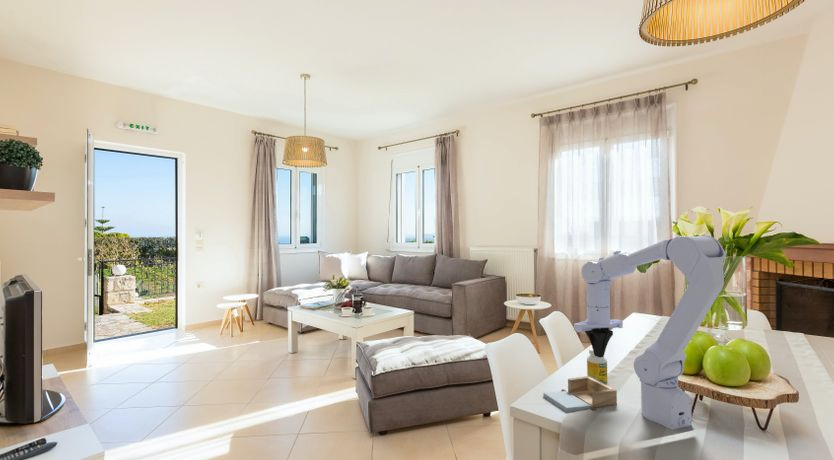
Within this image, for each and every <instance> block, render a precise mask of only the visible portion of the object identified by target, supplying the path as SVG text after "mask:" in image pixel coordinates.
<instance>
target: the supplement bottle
mask: <svg viewBox="0 0 834 460" xmlns="http://www.w3.org/2000/svg"><path fill="white" fill-rule="evenodd" d="M588 350H589V352H588V353H589V355H587V358H586V369H587V370H586V373H587V375H586V376H589V377H591V378H593V379H595V380H597V381H599V382H601V383H603V384H605V383H607V382H608V359H607V358H606V356H604V357H597V356H595V355H594V352H593V348H592V347H590V348H588Z"/></svg>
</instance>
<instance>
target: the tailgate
mask: <svg viewBox="0 0 834 460" xmlns="http://www.w3.org/2000/svg"><path fill="white" fill-rule="evenodd" d="M542 393H543V394H542V395H543V396H542V397H543V398H545V399H546V400H548V401H549V402H551V403H552V404H553V405H555V406H556V407H558V408H560V409H561V410H563V411H564V412H566V413H569V412H574V411H580V410H586V409H590V407H591V405H589V404H588V403H586V402H584V401H582V400H581V399H579V398H577V397H576V396H574V395H572V394H571V393H569V392H568V390H566V391H550V392H549V391H548V392H542Z"/></svg>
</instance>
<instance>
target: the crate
mask: <svg viewBox="0 0 834 460" xmlns="http://www.w3.org/2000/svg"><path fill="white" fill-rule="evenodd" d="M561 391H567V392H568V393H570V394H572V395H574V396H575V397H577V398H579V399H580V400H582V401H584V402H585V403H587V404H589V405H590V406H591V407H590V408H589V410H592V411H596V410H597V409H599V408H604V407H610V406H614V405H615V406H616V405H618V402H617V401H618V400H617V399H618V398H617V396H618V395H617V394H618V393H617V392H618V391H617V389H615V388H613V387H611V386H609V385H607V384H605V383H601V382H599V381H597V380H595V379H593V378H591V377H589V376H587V375H586V376H580V377H579V376H578V377H572V378H568V379H567V390H565V389H561Z"/></svg>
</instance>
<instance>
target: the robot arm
mask: <svg viewBox="0 0 834 460" xmlns="http://www.w3.org/2000/svg"><path fill="white" fill-rule="evenodd" d="M726 256H727V253H726V251H725V250H724V248H723V245H722V244H721V242H720V241H719V240H718V239H716V237H714V236H711V235H699V236H697V235H696V236H695V235H694V236H687V235H678V236H675V237H673V238H667V239H664V240H661V241H659V242H657V243H654V244H651V245H649V246H647V247H644V248H642V249H639V250H636V251H635V252H632V253H630V252H627V251H621V250H616V251H613V255H610V256H607V257H605V256H604V257H603V256H602V257H599V258H598V261H587V262H586V263H584V264H583V265H582V267H581V278H582V279H583V280H584V281H585V282H586V285H585V286H586V287H585V288H586V319H585V320H583V321H580V322H577V323H576V322H575V323H573V331H574V332H578V333H582V332H585V334H586V336H587V337H588V340H589V342H590V345H591V348H593V352H594V355H595V356H597V357H605V353H606V350H607V346H608V344H609V341H610V339H611V338H612V337H613V336H614V332H613V330H611V329H617V328H618V329H623V328H624V326H623V325H624V322H623V320H620V319H611V297H610V296H611V293H610V291H611V287H612V281H613V280H614V279H618V278H620V277H623V276H627V275H630V274H633V273H634V272H635V271H636V268H637V267H638V266H642V265H646V264H649V263H652V262H656V261H659V260H660V261H661V260H662V259H663V260H664V261H671V262H672V264H674V265H675V267H676V268H677V269H678V270H679V271H680V272H681V273H682V275H683V276H684V277H685V279H686V281H687V282H688V285H687V287H686V289H685V290H684V292H683V294H682V296H681V298H680V299H679V301H678V303H677V305H676V306H675V308H674V310H673V311H672V314H671V315H670V317H669V319H668V320H667V322H666V324H665V326H663V329H662V331H661V333H660V334H659V336H658V338H657V340H655V342H653V343H651V344H650V346H648V347H646V349H645V351H643V353H642V354H640V355H638V356H637V357H636V358H635V359H634V362H633V370H634V372H635V375H637V378H639V382H640V394H641V395H640V396H641V397H640V399H641V401H640V402H641V403H640V404H641V406H640V407H641V415H642V416H643V417H644V418H645V419H647V420H649V421H651V422H655V423H657V424H659V425H661V426H664V427H665V428H666V429H669V430H677V429H682V428H687V427H692V425H693V424H692V421H693V420H692V418H693V417H692V416H693V415H692V413H693V412H692V399H691V397H690V395H689V393H687V391H684V390H682V389H681V388H680V386H679V385H678V383H679V377H680V376H681V375H683V374H684V370H685V366H684V364H685V361H686V359H687V358H688V357H687V354H686V353H685V350H686V348H687V347H688V345H689V343H690V342H691V340H692V339H693V338H694V335H696V332H697V330H698V329H699V327H700V326H701V324H702V323H703V322H704V319H705V318H706V316H707V314H708V313H709V311H710V309H711V308H712V306H713V305H714V303H715V302H716V300H717V298H718V296H719V294H721V291H722V290H723V288H724V285H725V279H724V278H725V277H724V261H725V259H726Z"/></svg>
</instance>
